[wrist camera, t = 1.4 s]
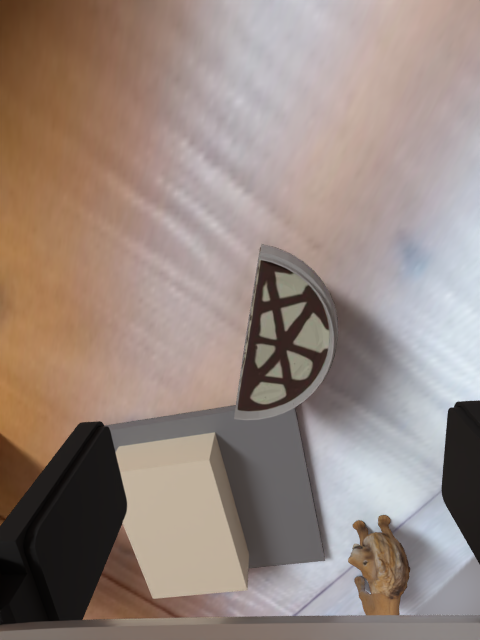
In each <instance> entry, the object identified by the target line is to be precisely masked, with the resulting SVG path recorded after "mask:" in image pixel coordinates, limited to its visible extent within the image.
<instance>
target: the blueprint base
mask: <svg viewBox="0 0 480 640" xmlns="http://www.w3.org/2000/svg"><path fill="white" fill-rule="evenodd" d="M235 408H236V405H234V406H228V407H222V408H215V409H209V410H202V411H196V412H190V413H183V414H177V415H170V416H164V417H158V418H151V419H145V420H138V421H132V422H126V423H119V424H113V425H106V426H107V427H109V429H110V431H111V436H112V440H113V444H114V448H115V452H116V457H117V461H118V465H119V469H120V473H121V478H122V482H123V486H124V490H125V495H126V499H127V512H126V515H125V518H124V520H123V526H124V528H125V531H126V533H127V536H128V538H129V541H130V543H131V546H132V548H133V550H134V553H135V555H136V558H137V560H138V563H139V565H140V568H141V570H142V573H143V575H144V578H145V580H146V583H147V585H148V588H149V590H150V593H151V595H152V598H153V599H157V598H167V597H178V596H189V595H200V594H211V593H222V592H233V591H244V590H247V587H248V568H256V567H266V566H276V565H286V564H296V563H306V562H316V561H325V557H324V551H323V546H322V541H321V536H320V531H319V526H318V521H317V516H316V511H315V506H314V501H313V496H312V491H311V486H310V481H309V476H308V471H307V466H306V461H305V456H304V451H303V446H302V441H301V436H300V430H299V425H298V420H297V415H296V410H295V408H293V409H291V410H289V411H287V412H285V413H283V414H280V415H277V416H274V417H270V418H265V419H259V420H237V419H234V415H235Z"/></svg>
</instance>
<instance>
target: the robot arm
mask: <svg viewBox="0 0 480 640" xmlns="http://www.w3.org/2000/svg"><path fill="white" fill-rule="evenodd" d="M442 496H443V500H444V502H445V504H446V506H447V508H448V510H449V511H450V513H451V515H452V517H453V518H454V520H455V522H456V524H457V525H458V527H459V529H460V531H461V532H462V534H463V536H464V538H465V539H466V541H467V543H468V545H469V546H470V548H471V550H472V552H473V553H474V555H475V557H476V559H477V560H478V562H479V564H480V401H462V402H457V403H456V404H455V406H454V408H449V410H448V417H447V429H446V441H445V453H444V465H443V477H442ZM126 512H127V499H126V495H125V490H124V486H123V482H122V478H121V473H120V469H119V465H118V461H117V457H116V452H115V448H114V444H113V440H112V436H111V431H110V429H109V427H107V426H104V424H103V423H102V422H82V423H80V424H79V425H78V426H77V427H76V428H75V430H74V431H73V432H72V433H71V435H70V436H69V437H68V439H67V440H66V441H65V443H64V444H63V445H62V446H61V448H60V449H59V450H58V452H57V453H56V454H55V456H54V457H53V458H52V460H51V461H50V462H49V463H48V465H47V466H46V467H45V469H44V470H43V471H42V473H41V474H40V475H39V476H38V478H37V479H36V480H35V482H34V483H33V484H32V486H31V487H30V488H29V490H28V491H27V492H26V493H25V495H24V496H23V497H22V499H21V500H20V501H19V503H18V504H17V505H16V506H15V508H14V509H13V510H12V512H11V513H10V514H9V516H8V517H7V518H6V520H5V521H4V522H3V523H2V525H1V526H0V640H480V615H346V616H263V617H196V618H143V619H97V620H82V619H83V617H84V615H85V612H86V610H87V607H88V605H89V603H90V600H91V598H92V595H93V593H94V590H95V588H96V586H97V583H98V581H99V578H100V576H101V574H102V571H103V569H104V566H105V564H106V561H107V559H108V557H109V554H110V552H111V549H112V547H113V544H114V542H115V540H116V537H117V535H118V532H119V530H120V528H121V525H122V523H123V520H124V518H125V515H126Z"/></svg>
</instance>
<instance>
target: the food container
mask: <svg viewBox="0 0 480 640" xmlns="http://www.w3.org/2000/svg"><path fill="white" fill-rule="evenodd" d="M337 338H338V319H337V314H336V309H335V305H334V303H333V300H332V297H331V295H330V293H329V291H328V289H327V288H326V286H325V284H324V283H323V281H322V280H321V279H320V277H319V276H318V275H317V274H316V273H315V272H314V270H312V269H311V268H310V267H309V266H308V265H307V264H305V263H304V262H303V261H302V260H300V259H298V258H297V257H295V256H294V255H292V254H290V253H288V252H286V251H283V250H281V249H278V248H276V247H272V246H268V245H264V244H261V248H260V251H259V257H258V264H257V270H256V276H255V283H254V289H253V295H252V302H251V308H250V314H249V321H248V327H247V333H246V340H245V346H244V353H243V360H242V367H241V374H240V380H239V387H238V394H237V401H236V408H235V415H234V419H237V420H259V419H265V418H270V417H274V416H277V415H280V414H283V413H285V412H287V411H289V410H291V409H293V408H295V407H296V406H298V405H299V404H301V403H302V402H304V401H305V400H306V399H307V398H308V397H309V396H310V395H311V394H312V393H313V392H314V391H315V390H316V389H317V388H318V387H319V385H320V384H321V383H322V381H323V380H324V379H325V377H326V375H327V373H328V371H329V370H330V368H331V365H332V362H333V359H334V356H335V351H336V345H337Z"/></svg>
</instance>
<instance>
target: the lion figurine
mask: <svg viewBox="0 0 480 640" xmlns="http://www.w3.org/2000/svg"><path fill="white" fill-rule="evenodd" d="M389 523H390V518H389V517H388V516H386V515H381V516H379V518H378V525H379V527H380V528H381V531H382V533H377V532H375V533H371V534H369V535H368V529H367V527H366V526H365V523H364V522H363V521H360V520H358V521H356V522H355V523H354V524H353V528H354V529H356V530H357V532H358V535H359V538H360V545H359V544H354V545H353V551H352V553H351V556H350V557H349V559H348V562H349V563H350V564H352V565H354V566H355V567H357V568H358V569H360V570H361V572H362V575H363V577H364V578H366V580H367V581H368V583H369V586H370V591H371V594H369V593H368V592H367V591H365V580H364V578H363V577H361V576H359V577H356V578H355V584H356V586H357V588H358V592H359V598H360V599H361V601H362V605H363V609H364V612H365V614H366V615H399V604H400V597H401V595H402V594H403V593H404V591H405V589H406V588H407V582H408V579H409V572H410V567H409V564H408V560H407V556H406V554H405V551H404V548H403V547H402V545H401V543H399V542H398V540H397V539H396V538H395V537H394V536H393V534H392V532H391V530H390V529H389Z"/></svg>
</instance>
